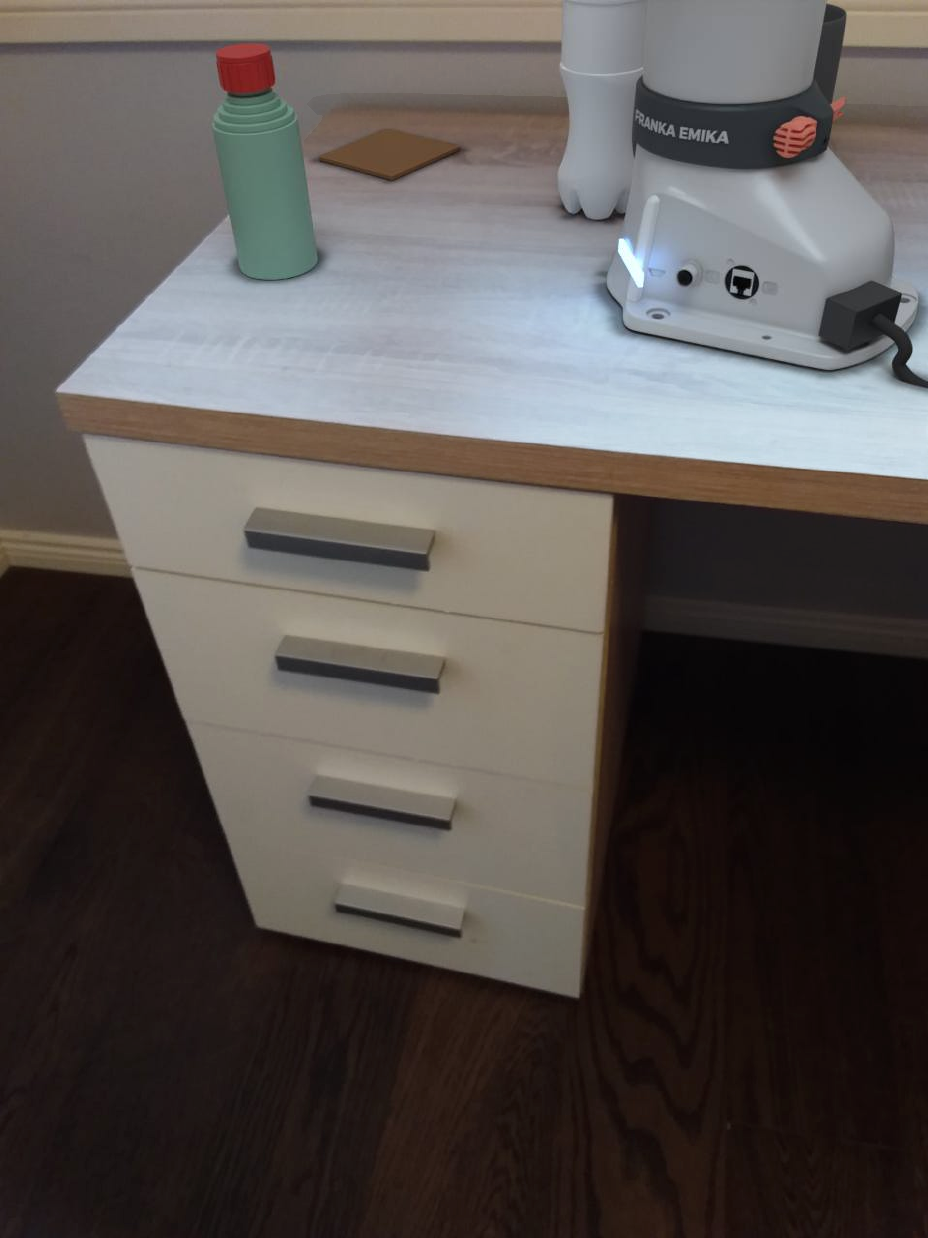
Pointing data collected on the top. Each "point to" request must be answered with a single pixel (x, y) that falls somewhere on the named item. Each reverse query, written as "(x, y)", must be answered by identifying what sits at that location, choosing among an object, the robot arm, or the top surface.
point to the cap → (245, 68)
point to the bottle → (265, 184)
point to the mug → (830, 50)
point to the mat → (389, 154)
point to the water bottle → (600, 101)
